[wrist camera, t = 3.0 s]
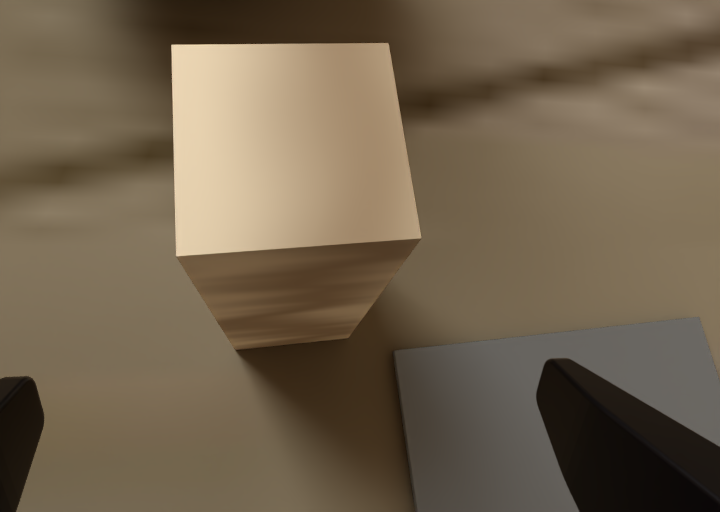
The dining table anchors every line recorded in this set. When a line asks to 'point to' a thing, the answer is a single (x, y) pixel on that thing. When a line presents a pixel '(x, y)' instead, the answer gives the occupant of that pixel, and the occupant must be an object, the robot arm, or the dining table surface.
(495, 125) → the dining table surface
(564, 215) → the dining table surface
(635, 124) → the dining table surface
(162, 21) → the dining table surface
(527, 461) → the rubber mat
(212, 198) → the birch block
